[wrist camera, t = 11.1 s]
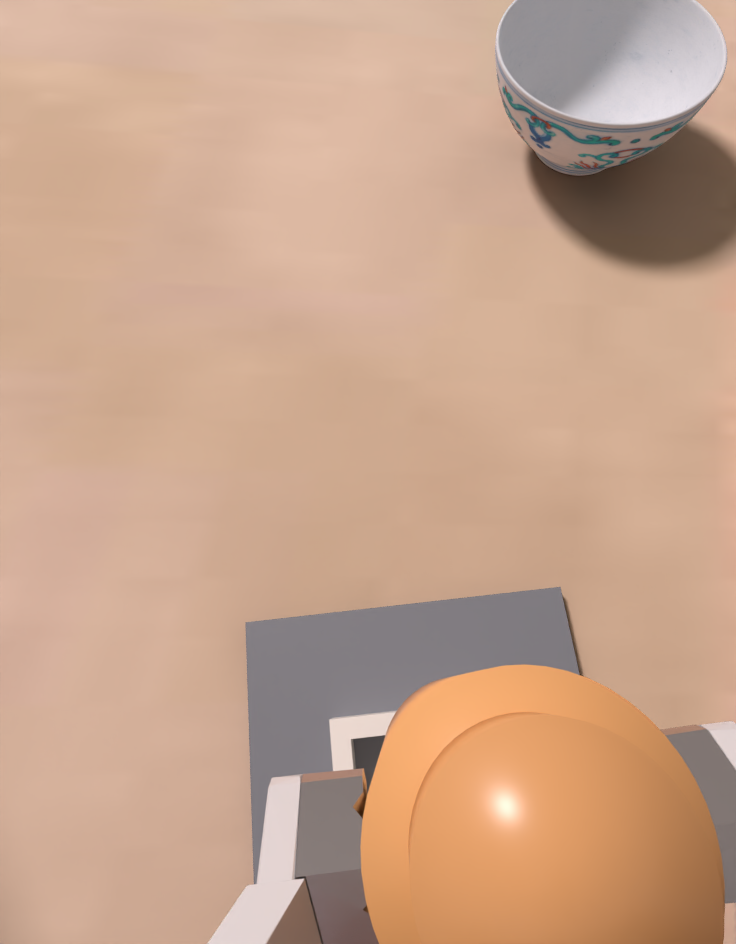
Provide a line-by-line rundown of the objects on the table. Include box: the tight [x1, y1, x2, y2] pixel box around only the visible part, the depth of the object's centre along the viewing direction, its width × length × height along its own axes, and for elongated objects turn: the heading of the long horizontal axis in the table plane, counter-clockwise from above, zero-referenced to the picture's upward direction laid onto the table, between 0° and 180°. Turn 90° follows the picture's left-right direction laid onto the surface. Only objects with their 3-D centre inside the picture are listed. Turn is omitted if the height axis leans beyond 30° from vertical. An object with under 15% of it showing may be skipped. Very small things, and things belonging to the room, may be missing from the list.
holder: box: [246, 587, 580, 884], centre depth 29 cm, size 18×20×3 cm
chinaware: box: [495, 0, 727, 176], centre depth 43 cm, size 15×15×8 cm
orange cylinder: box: [360, 664, 725, 944], centre depth 11 cm, size 4×4×10 cm
